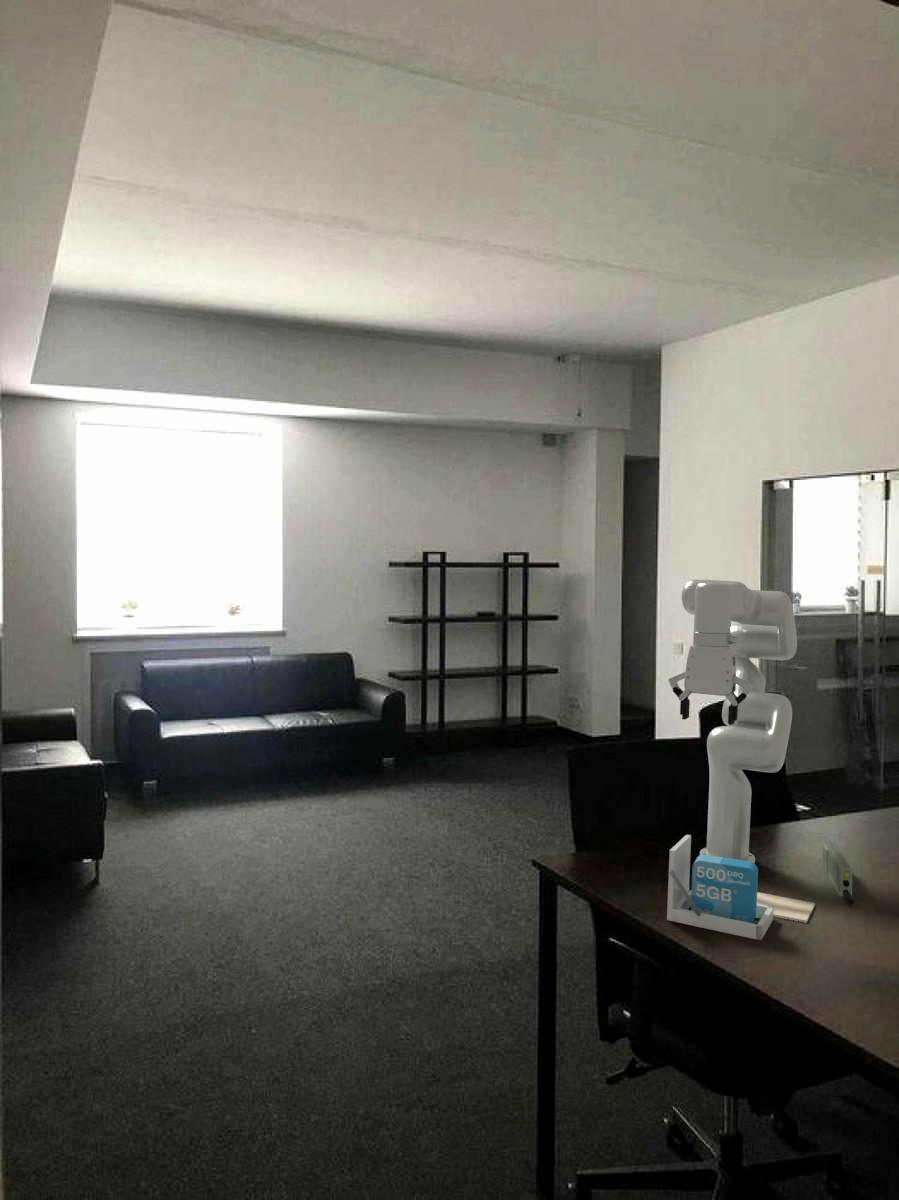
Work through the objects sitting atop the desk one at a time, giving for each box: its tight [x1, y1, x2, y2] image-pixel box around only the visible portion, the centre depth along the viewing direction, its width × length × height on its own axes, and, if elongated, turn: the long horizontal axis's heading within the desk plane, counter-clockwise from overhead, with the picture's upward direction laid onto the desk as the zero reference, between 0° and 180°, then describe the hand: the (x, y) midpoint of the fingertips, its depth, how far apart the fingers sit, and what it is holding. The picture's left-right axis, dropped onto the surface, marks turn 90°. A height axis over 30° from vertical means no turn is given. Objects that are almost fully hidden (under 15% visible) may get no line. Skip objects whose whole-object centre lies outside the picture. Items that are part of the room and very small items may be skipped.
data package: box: [690, 854, 759, 924], centre depth 189 cm, size 12×4×12 cm, turn 66°
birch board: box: [757, 891, 816, 924], centre depth 198 cm, size 11×17×1 cm, turn 61°
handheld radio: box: [822, 840, 855, 906], centre depth 211 cm, size 7×3×25 cm
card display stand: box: [666, 834, 774, 941], centre depth 189 cm, size 13×18×14 cm
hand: (708, 721), depth 204 cm, fingers open, 9 cm apart
